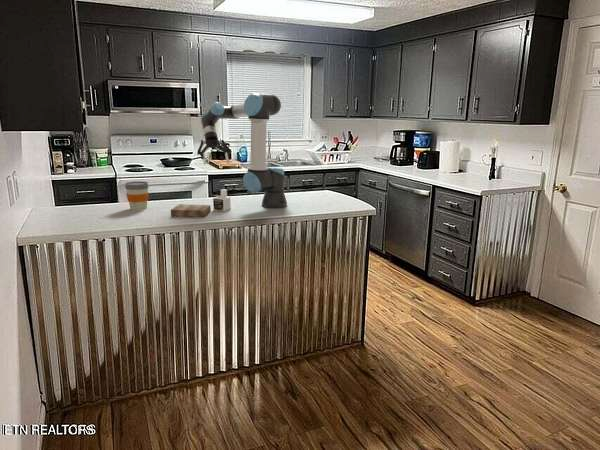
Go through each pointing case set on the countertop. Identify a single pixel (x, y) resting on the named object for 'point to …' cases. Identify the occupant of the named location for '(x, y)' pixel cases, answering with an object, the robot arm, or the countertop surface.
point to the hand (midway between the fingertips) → (216, 162)
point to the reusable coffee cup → (137, 194)
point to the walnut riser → (191, 211)
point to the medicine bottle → (221, 200)
